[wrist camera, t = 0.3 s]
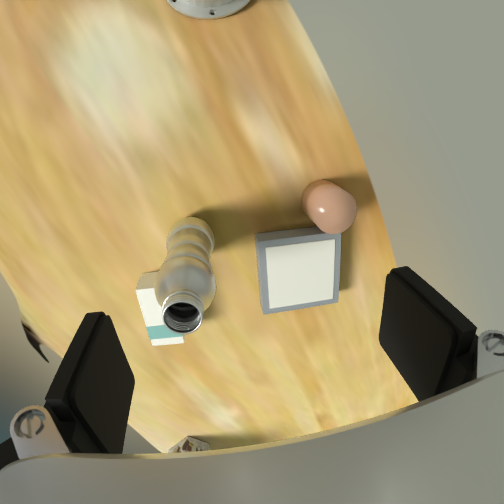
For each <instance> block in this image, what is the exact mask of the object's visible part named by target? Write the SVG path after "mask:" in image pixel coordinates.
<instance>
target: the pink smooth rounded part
mask: <svg viewBox="0 0 504 504" xmlns="http://www.w3.org/2000/svg"><path fill="white" fill-rule="evenodd" d="M301 205H302V208H303V210H304V212H305V213H306V214H307V215H308V217H309V218H310V219H311V220H312V221H313V222H314V223H315V224H316V225H317V226H318V227H319V228H320V229H321V230H322V231H323V232H325V233H329V234H338V233H341V232H343V231H345V230H347V229H348V228H349V227H350V226H351V225H352V223H353V222H354V220H355V217H356V214H357V205H356V202H355V200H354V198H353V197H352V195H351V194H349V193H348V192H346V191H345V190H343V189H342V188H340V187H338V186H337V185H335V184H333V183H332V182H330V181H327V180H317V181H314V182H312V183H310V184H309V185H308V186H307V187H306V188H305V190H304V192H303V194H302V198H301Z"/></svg>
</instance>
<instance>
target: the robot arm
mask: <svg viewBox="0 0 504 504" xmlns="http://www.w3.org/2000/svg"><path fill="white" fill-rule="evenodd" d="M173 1H174V0H167V2H168V4H169V5H170V6H171V7H172V8H173V9H175V10H176V11H177V12H179V13H180V14H183V15H185V16H187V17H191V18H195V19H203V20H210V19H219V18H224V17H227V16H229V15H232V14H234V13H236V12H238V11H239V10H241V9H242V8H243V7H245V6H246V5H247V4H248V3H249V2H250V0H176V2H173ZM211 13H214V15H211ZM476 329H477V327H476V326H475V325H474V324H473V323H472V322H471V321H470V320H469V319H467V318H466V317H465V316H464V315H463V314H462V313H461V312H460V311H459V310H458V309H457V308H455V307H454V306H453V305H452V304H451V303H450V302H449V301H448V300H446V299H445V298H444V297H443V296H442V295H441V294H440V293H438V292H437V291H436V290H435V289H434V288H433V287H432V286H430V285H429V284H428V283H427V282H426V281H425V280H423V279H422V278H421V277H420V276H419V275H417V274H416V273H415V272H414V271H413V270H411V269H410V268H409V267H407V266H404V267H399V268H394V269H392V270H391V271H390V274H387V276H386V284H385V293H384V302H383V310H382V317H381V325H380V332H379V342H380V345H381V346H382V348H383V349H384V351H385V352H386V354H387V355H388V356H389V358H390V359H391V361H392V362H393V364H394V365H395V367H396V368H397V369H398V371H399V372H400V374H401V375H402V377H403V378H404V380H405V381H406V383H407V384H408V386H409V387H410V389H411V390H412V392H413V393H414V395H415V396H416V398H417V399H418V401H419V402H417V403H415V404H412V405H409V406H407V407H404V408H401V409H398V410H395V411H392V412H389V413H386V414H383V415H380V416H377V417H374V418H370V419H367V420H364V421H360V422H357V423H353V424H349V425H346V426H342V427H338V428H334V429H330V430H326V431H322V432H318V433H314V434H309V435H305V436H300V437H295V438H290V439H285V440H280V441H274V442H268V443H262V444H256V445H249V446H242V447H234V448H226V449H217V450H207V451H195V452H181V453H158V454H122V451H123V445H124V439H125V433H126V427H127V422H128V416H129V411H130V405H131V400H132V395H133V390H134V385H135V380H134V375H133V373H132V370H131V368H130V366H129V363H128V361H127V358H126V356H125V354H124V351H123V349H122V346H121V344H120V341H119V338H118V336H117V333H116V331H115V328H114V325H113V322H112V320H111V318H110V316H109V315H105V313H104V312H93V313H87V314H86V315H85V317H84V319H83V321H82V322H81V324H80V326H79V328H78V330H77V332H76V334H75V336H74V338H73V340H72V342H71V344H70V346H69V348H68V350H67V352H66V354H65V356H64V358H63V360H62V362H61V365H60V366H59V369H58V371H57V373H56V375H55V377H54V379H53V382H52V384H51V386H50V388H49V391H48V393H47V395H46V397H45V400H46V403H45V405H44V407H42V406H37V405H34V406H28V407H26V408H23V409H22V410H21V411H19V412H18V413H17V414H16V415H15V416H14V418H13V420H12V421H11V425H10V433H11V436H12V437H11V438H9V439H8V440H6V441H5V442H3V443H1V444H0V504H504V332H501V331H498V330H488V331H485V332H483V333H481V335H480V336H479V337H478V336H477V335H476V334H475V333H476Z"/></svg>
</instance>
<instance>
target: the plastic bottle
mask: <svg viewBox="0 0 504 504" xmlns="http://www.w3.org/2000/svg"><path fill="white" fill-rule="evenodd" d="M214 243H215V239H214V234H213V232H212V230H211V228H210V226H209V225H208V224H207V223H206V222H205V221H204V220H202V219H200V218H196V217H186V218H183V219H181V220H179V221H178V222H177V223H176V224H174V226H173V227H172V228H171V229H170V231H169V233H168V236H167V256H166V259H165V261H164V263H163V265H162V266H161V268H160V269H159V271H158V273H157V276H156V278H155V282H154V292H155V296H156V299H157V302H158V304H159V305H160V306H161V308H162V311H163V312H162V319H163V323H164V325H165V326H166V328H168V329H169V330H170V331H172V332H174V333H177V334H189V333H192V332H194V331H195V330H197V329H198V328H199V327H200V325H201V323H202V320H203V312H204V311H205V310H206V309H207V308H208V307H209V306H210V304H211V302H212V300H213V299H214V296H215V293H216V281H215V276H214V273H213V271H212V268H211V263H210V257H211V254H212V251H213V248H214Z"/></svg>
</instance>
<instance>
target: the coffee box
mask: <svg viewBox="0 0 504 504" xmlns="http://www.w3.org/2000/svg"><path fill="white" fill-rule="evenodd" d="M207 450H209V444H208V443H205V442H203V441H200V440H197V439H194V438H192V437H189V436H187V437H186V438H184V439H183V440H182V441H180V442H179V443H178V444H176V445H175V446H174V447H172V448H171V449H169V453H181V452H195V451H207Z"/></svg>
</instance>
